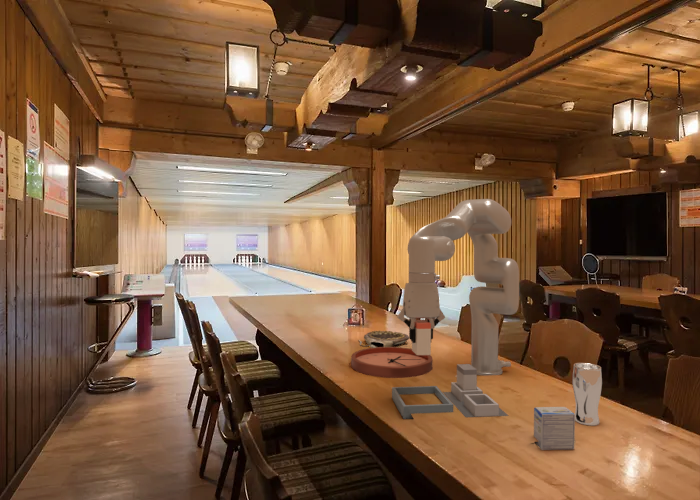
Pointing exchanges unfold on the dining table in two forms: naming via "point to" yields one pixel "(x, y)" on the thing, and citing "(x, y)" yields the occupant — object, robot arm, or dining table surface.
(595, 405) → the beer glass
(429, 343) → the block
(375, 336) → the pie
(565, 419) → the medicine box
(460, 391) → the board
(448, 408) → the grey open square frame
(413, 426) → the dining table surface
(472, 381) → the block
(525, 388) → the dining table surface
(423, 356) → the clock
